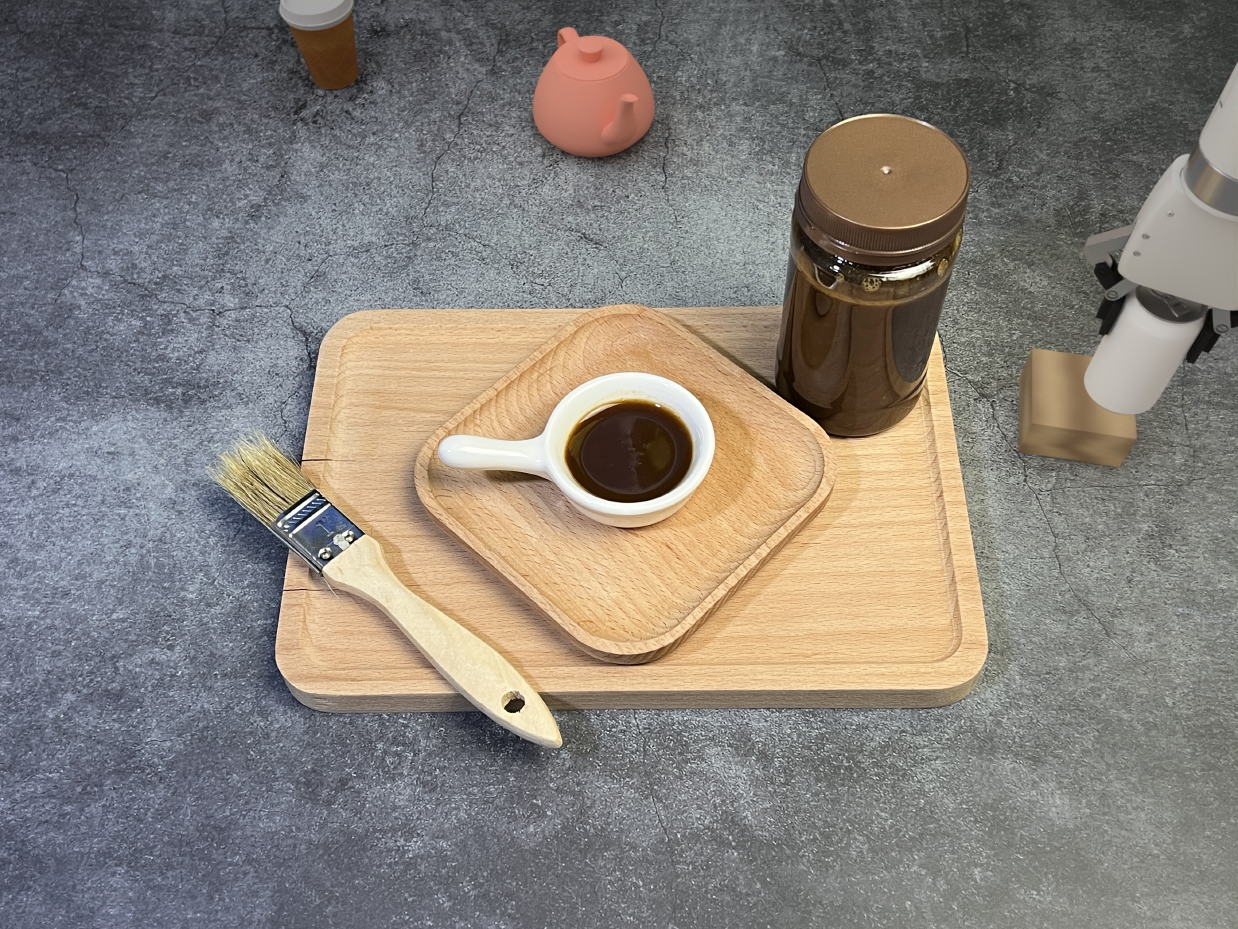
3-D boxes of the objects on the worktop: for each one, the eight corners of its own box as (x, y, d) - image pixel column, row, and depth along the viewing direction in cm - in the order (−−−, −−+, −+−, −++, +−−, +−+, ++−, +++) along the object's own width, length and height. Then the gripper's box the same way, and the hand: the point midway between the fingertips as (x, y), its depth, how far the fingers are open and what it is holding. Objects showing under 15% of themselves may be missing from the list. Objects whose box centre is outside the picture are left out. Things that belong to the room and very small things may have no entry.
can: (1125, 352, 101) (1177, 258, 91) (1172, 403, 98) (1231, 311, 88) (1067, 375, 100) (1113, 282, 90) (1112, 427, 96) (1165, 337, 87)
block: (1115, 392, 117) (1132, 361, 113) (1119, 467, 112) (1137, 439, 108) (1018, 377, 119) (1032, 347, 114) (1018, 452, 113) (1032, 423, 109)
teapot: (690, 164, 139) (693, 80, 129) (577, 202, 136) (571, 118, 125) (616, 68, 151) (613, -17, 140) (510, 101, 147) (500, 16, 137)
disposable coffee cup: (287, 87, 150) (262, 7, 140) (324, 48, 155) (302, -33, 145) (347, 104, 147) (326, 23, 138) (383, 63, 152) (365, -18, 142)
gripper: (1379, 174, 78) (1262, 340, 93) (1130, 108, 83) (1056, 277, 97) (1369, 242, 74) (1248, 404, 89) (1108, 169, 79) (1035, 335, 94)
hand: (1148, 336), depth 93 cm, fingers closed on can, 6 cm apart
